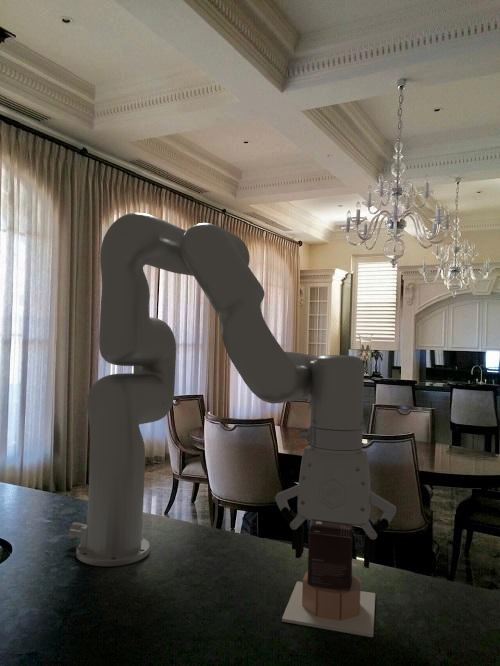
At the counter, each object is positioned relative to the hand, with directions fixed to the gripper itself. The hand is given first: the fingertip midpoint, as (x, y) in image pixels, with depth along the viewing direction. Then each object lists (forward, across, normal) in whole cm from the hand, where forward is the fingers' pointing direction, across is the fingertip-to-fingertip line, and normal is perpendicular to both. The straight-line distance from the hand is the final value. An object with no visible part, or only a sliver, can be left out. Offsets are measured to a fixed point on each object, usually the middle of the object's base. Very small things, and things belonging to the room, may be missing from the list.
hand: (332, 559), depth 73 cm
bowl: (+7, 0, 0) cm, 7 cm away
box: (+3, 0, 0) cm, 3 cm away
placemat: (+7, 0, 0) cm, 7 cm away
